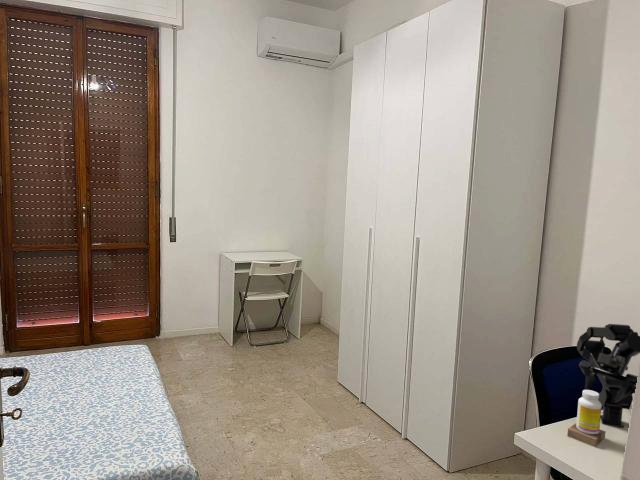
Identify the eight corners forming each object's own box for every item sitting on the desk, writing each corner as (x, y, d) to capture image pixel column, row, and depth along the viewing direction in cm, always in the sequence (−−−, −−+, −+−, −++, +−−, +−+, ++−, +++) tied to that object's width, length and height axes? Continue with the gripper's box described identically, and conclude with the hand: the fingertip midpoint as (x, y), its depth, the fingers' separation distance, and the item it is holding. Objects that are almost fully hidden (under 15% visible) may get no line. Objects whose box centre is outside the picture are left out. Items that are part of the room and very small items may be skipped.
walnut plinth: (577, 428, 158) (578, 421, 158) (604, 438, 152) (605, 431, 152) (567, 436, 153) (567, 428, 153) (595, 447, 147) (595, 439, 146)
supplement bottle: (602, 436, 148) (606, 398, 147) (580, 433, 150) (583, 395, 148) (594, 426, 155) (598, 389, 154) (573, 424, 156) (576, 387, 155)
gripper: (583, 337, 161) (563, 373, 156) (644, 352, 146) (623, 393, 141) (593, 355, 166) (574, 391, 161) (653, 372, 151) (634, 413, 146)
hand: (599, 396), depth 152 cm, fingers open, 9 cm apart
